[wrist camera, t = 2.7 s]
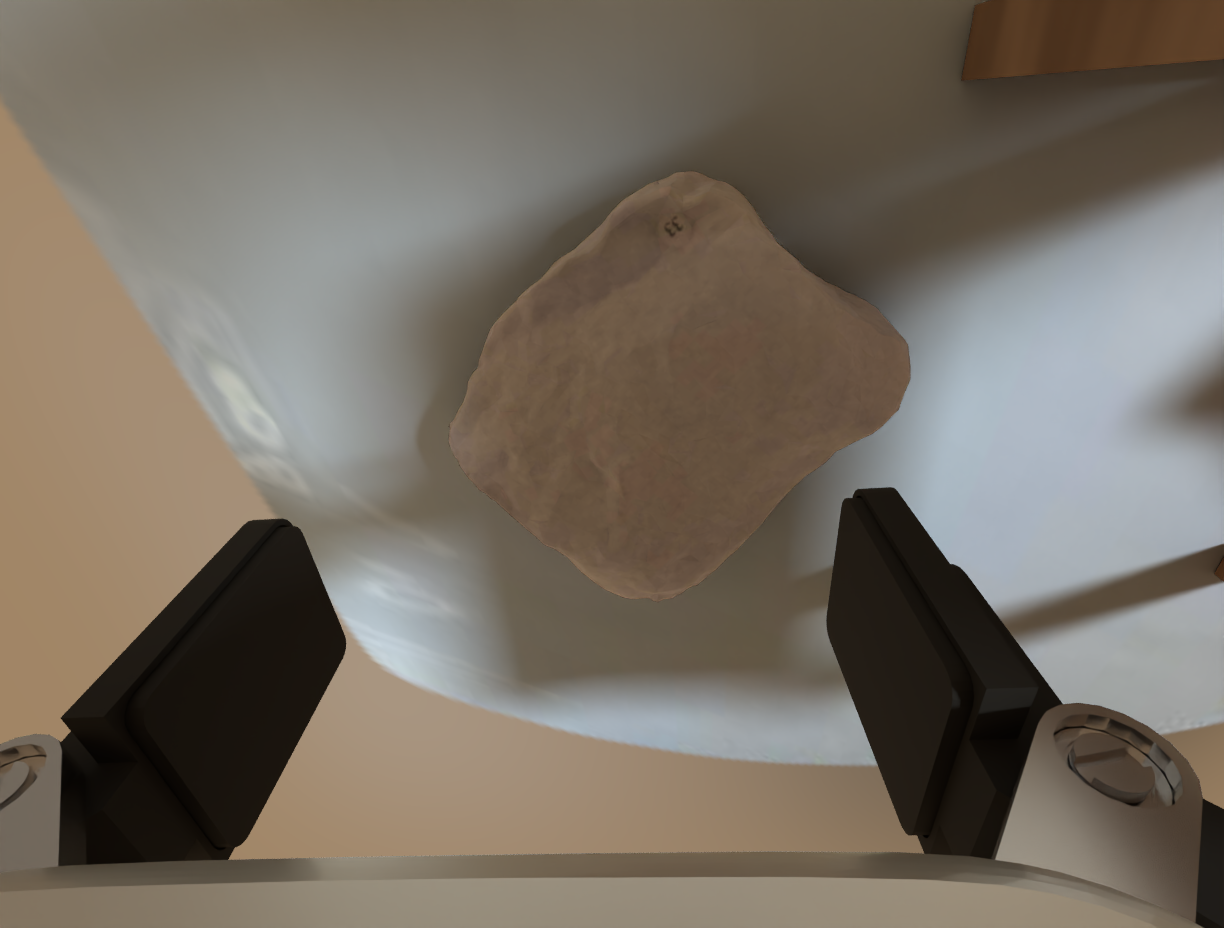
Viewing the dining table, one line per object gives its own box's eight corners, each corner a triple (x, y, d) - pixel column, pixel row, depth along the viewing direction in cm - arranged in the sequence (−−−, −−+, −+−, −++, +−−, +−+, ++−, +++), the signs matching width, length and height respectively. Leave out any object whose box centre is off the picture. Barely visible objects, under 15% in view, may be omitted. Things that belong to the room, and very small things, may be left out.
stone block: (459, 407, 22) (662, 572, 23) (393, 452, 18) (646, 653, 19) (669, 119, 18) (910, 341, 19) (649, 84, 13) (965, 378, 14)
